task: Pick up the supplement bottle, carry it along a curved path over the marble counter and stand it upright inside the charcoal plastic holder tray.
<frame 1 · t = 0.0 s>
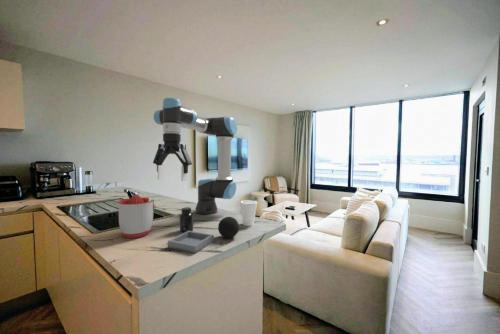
hand: (172, 179, 100), 28 cm above the counter, tool pointing down, fingers open, 13 cm apart
foam cup: (248, 224, 127), on the counter
holder tray: (191, 244, 97), on the counter
supplement bottle: (186, 231, 114), on the counter
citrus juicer: (138, 234, 109), on the counter
speaker: (228, 237, 106), on the counter
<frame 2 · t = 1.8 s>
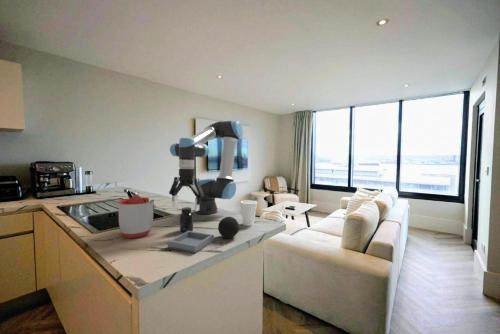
hand: (186, 209, 113), 11 cm above the counter, tool pointing down, fingers open, 13 cm apart
nothing on the counter moved.
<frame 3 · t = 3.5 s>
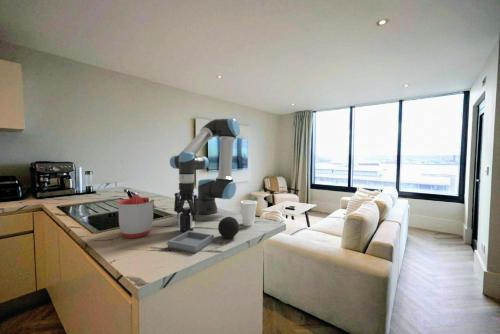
hand: (186, 226, 113), 3 cm above the counter, tool pointing down, fingers closed on supplement bottle, 7 cm apart
supplement bottle: (186, 231, 114), on the counter, touching gripper
everything else where it was.
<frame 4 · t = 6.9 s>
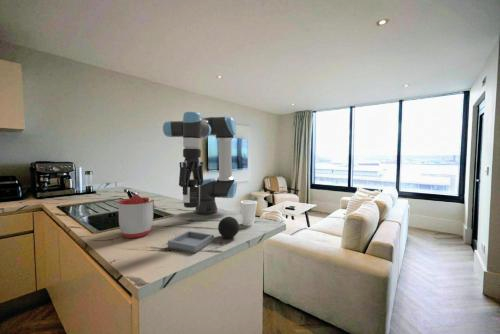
hand: (191, 200, 96), 20 cm above the counter, tool pointing down, fingers closed on supplement bottle, 7 cm apart
supplement bottle: (191, 206, 96), point 17 cm above the counter, touching gripper
everything else where it was.
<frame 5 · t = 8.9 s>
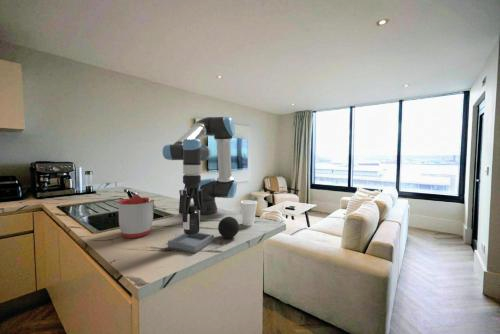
hand: (191, 226, 96), 8 cm above the counter, tool pointing down, fingers closed on supplement bottle, 7 cm apart
supplement bottle: (191, 232, 96), point 5 cm above the counter, touching gripper
everything else where it was.
when the fingers open (4 cm above the counter, at t = 10.5 s): supplement bottle drops 1 cm, resting on holder tray.
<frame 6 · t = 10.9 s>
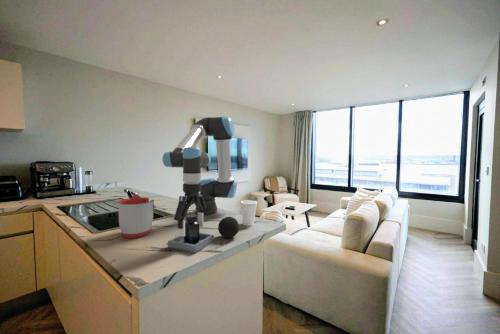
hand: (191, 230, 96), 6 cm above the counter, tool pointing down, fingers open, 13 cm apart
supplement bottle: (191, 243, 97), point 1 cm above the counter, touching holder tray
everything else where it was.
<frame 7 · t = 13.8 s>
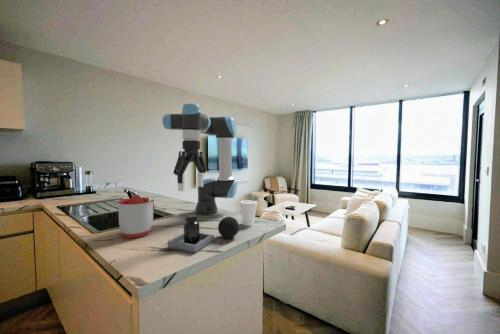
hand: (191, 188, 96), 25 cm above the counter, tool pointing down, fingers open, 13 cm apart
nothing on the counter moved.
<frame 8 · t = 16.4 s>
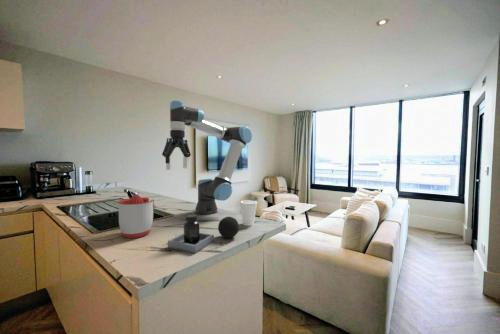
hand: (177, 169, 120), 32 cm above the counter, tool pointing down, fingers open, 13 cm apart
nothing on the counter moved.
at the end: supplement bottle inside the target area on the holder tray (0.1 cm from its centre), point 0.6 cm above the holder tray's base; supplement bottle tilted 0°; the gripper is holding nothing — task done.
